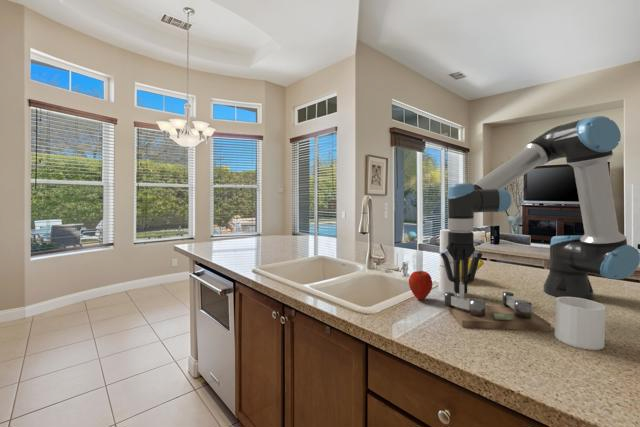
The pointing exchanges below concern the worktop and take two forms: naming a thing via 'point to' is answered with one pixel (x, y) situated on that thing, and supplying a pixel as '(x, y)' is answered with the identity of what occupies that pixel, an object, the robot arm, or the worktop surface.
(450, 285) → the cylindrical container
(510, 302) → the knob
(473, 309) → the knob
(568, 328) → the mug
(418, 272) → the apple
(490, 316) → the levelling board
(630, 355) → the worktop surface
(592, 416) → the worktop surface
